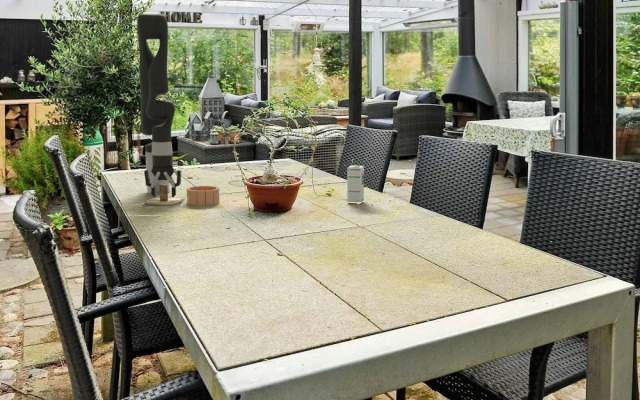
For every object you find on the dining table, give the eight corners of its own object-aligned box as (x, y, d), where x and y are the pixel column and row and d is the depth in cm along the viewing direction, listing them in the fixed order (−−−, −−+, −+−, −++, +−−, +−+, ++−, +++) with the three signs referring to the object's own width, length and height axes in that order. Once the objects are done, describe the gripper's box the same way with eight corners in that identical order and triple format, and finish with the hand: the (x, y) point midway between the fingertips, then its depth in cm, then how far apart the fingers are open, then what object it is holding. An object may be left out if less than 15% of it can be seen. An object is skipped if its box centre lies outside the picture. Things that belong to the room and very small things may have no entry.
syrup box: (361, 204, 250) (362, 167, 248) (346, 203, 251) (347, 166, 249) (363, 201, 256) (364, 165, 253) (349, 201, 257) (349, 165, 254)
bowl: (190, 200, 254) (189, 185, 253) (220, 200, 255) (220, 185, 254) (185, 206, 242) (184, 191, 241) (217, 206, 243) (217, 191, 242)
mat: (149, 200, 254) (149, 199, 254) (185, 200, 255) (185, 199, 255) (141, 207, 241) (141, 206, 241) (179, 207, 241) (179, 206, 241)
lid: (150, 199, 254) (149, 182, 253) (183, 199, 254) (183, 182, 253) (143, 205, 241) (142, 187, 240) (178, 205, 242) (177, 187, 240)
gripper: (183, 152, 248) (184, 195, 251) (145, 152, 248) (146, 195, 251) (179, 154, 241) (181, 198, 244) (140, 154, 240) (142, 198, 243)
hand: (163, 196), depth 247 cm, fingers open, 6 cm apart
